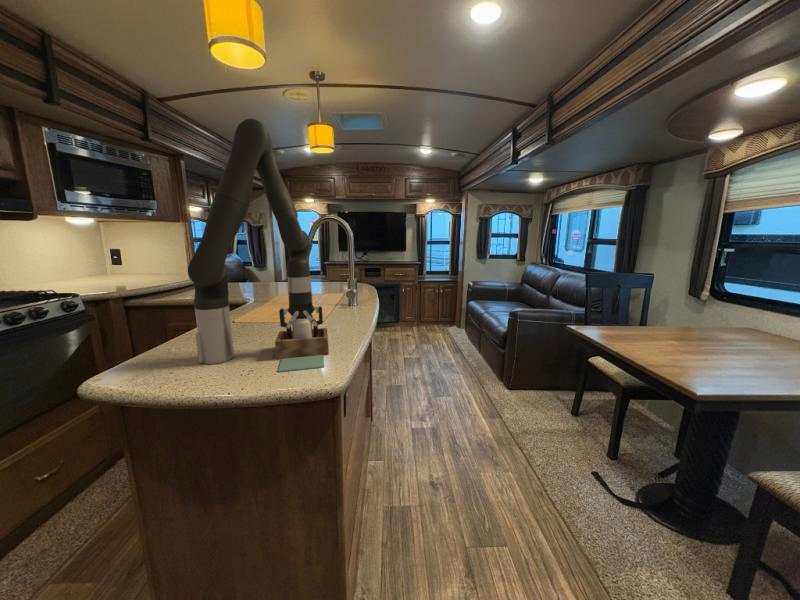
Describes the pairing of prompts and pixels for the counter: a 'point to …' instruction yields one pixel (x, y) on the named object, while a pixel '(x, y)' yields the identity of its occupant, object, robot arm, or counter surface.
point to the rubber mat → (301, 363)
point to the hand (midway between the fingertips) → (303, 337)
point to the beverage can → (302, 328)
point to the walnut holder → (301, 345)
